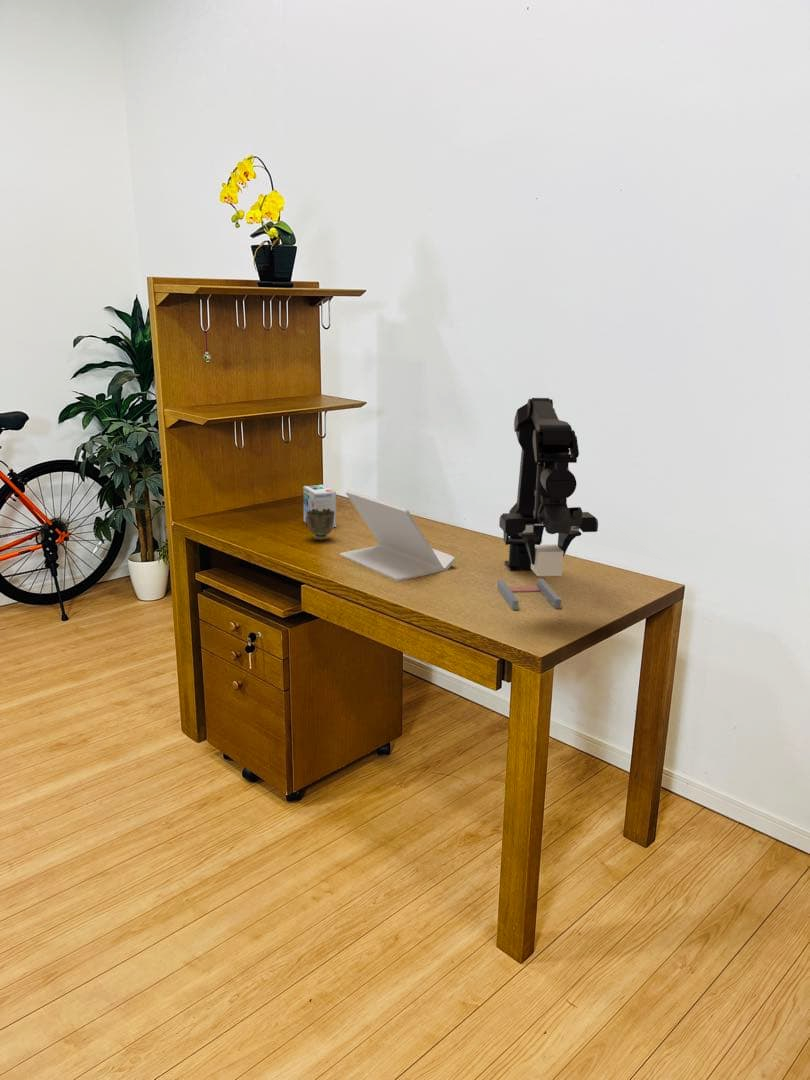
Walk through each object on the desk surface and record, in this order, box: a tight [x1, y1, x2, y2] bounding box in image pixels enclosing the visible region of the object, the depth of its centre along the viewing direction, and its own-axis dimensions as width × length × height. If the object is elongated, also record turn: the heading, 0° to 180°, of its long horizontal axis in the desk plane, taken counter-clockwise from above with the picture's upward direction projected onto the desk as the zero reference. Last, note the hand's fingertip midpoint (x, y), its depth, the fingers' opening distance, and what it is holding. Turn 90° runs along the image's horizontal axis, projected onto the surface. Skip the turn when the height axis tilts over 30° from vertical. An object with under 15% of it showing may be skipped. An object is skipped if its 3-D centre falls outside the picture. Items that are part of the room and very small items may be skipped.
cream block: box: [531, 544, 564, 577], centre depth 164 cm, size 5×5×5 cm
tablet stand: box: [339, 490, 456, 582], centre depth 202 cm, size 18×25×17 cm
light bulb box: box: [302, 484, 337, 528], centre depth 236 cm, size 11×7×11 cm, turn 25°
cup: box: [307, 509, 335, 542], centre depth 221 cm, size 8×7×8 cm
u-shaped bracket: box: [497, 578, 562, 611], centre depth 179 cm, size 14×10×2 cm
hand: (545, 563), depth 165 cm, fingers closed on cream block, 5 cm apart
